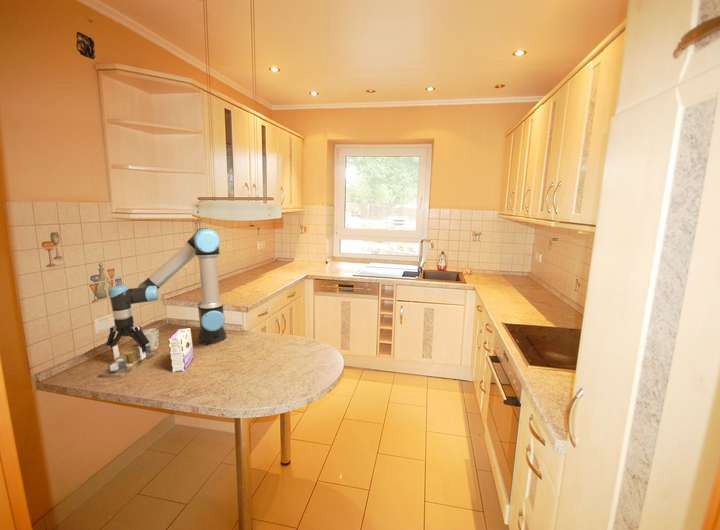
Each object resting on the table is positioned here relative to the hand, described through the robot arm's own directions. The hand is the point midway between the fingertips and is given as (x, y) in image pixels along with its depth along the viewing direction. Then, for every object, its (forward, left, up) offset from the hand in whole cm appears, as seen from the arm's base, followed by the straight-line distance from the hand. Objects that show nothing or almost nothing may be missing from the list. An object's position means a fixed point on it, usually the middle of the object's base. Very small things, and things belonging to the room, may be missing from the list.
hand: (130, 358), depth 167 cm
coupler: (0, 0, -2) cm, 2 cm away
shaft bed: (0, 0, -3) cm, 3 cm away
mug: (+4, -19, -3) cm, 20 cm away
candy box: (-28, +1, -3) cm, 28 cm away
